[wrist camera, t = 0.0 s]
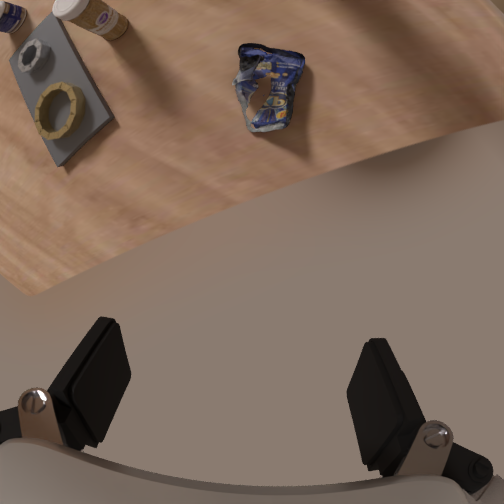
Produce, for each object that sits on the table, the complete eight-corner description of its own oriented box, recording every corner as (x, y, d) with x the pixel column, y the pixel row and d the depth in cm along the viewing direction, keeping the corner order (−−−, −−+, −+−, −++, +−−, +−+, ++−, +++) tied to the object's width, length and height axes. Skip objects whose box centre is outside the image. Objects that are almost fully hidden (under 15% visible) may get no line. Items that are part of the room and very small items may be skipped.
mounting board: (14, 60, 30) (8, 60, 28) (57, 13, 27) (52, 11, 26) (62, 165, 38) (57, 167, 37) (114, 117, 35) (109, 117, 34)
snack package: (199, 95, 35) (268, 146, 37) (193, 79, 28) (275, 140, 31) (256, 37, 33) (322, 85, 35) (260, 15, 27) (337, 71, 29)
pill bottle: (30, 15, 26) (-4, 5, 17) (12, 38, 28) (-23, 32, 18) (23, 3, 25) (-9, -7, 15) (5, 26, 26) (-28, 19, 17)
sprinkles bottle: (121, 42, 31) (71, 16, 18) (98, 39, 30) (45, 18, 18) (133, 15, 29) (88, -18, 17) (109, 14, 29) (61, -15, 16)
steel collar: (29, 47, 28) (20, 45, 26) (52, 38, 28) (43, 35, 26) (25, 75, 30) (16, 75, 28) (47, 68, 30) (38, 66, 28)
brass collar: (46, 89, 32) (36, 88, 29) (87, 79, 32) (78, 77, 29) (44, 140, 35) (34, 142, 32) (84, 135, 35) (75, 136, 32)
